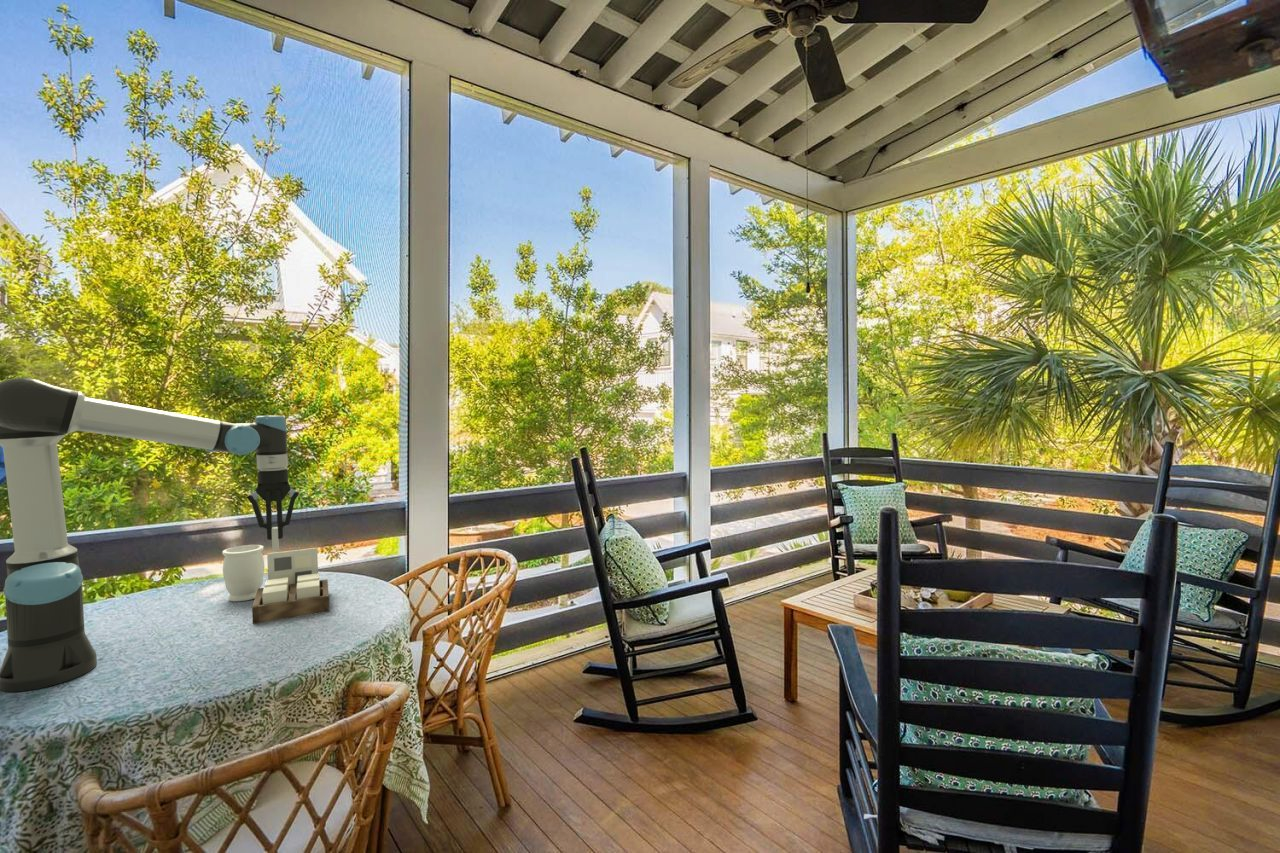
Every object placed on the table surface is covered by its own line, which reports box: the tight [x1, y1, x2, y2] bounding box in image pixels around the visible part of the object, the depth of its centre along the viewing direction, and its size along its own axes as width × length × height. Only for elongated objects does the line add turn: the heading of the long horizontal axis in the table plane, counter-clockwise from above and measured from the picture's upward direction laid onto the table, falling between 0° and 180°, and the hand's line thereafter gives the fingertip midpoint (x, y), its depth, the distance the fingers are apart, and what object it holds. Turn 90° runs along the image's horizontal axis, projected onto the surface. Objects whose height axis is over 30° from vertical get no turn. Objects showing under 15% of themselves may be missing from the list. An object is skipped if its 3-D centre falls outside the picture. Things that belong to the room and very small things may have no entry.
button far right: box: [297, 572, 320, 586], centre depth 172 cm, size 6×6×4 cm
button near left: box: [262, 585, 288, 604], centre depth 161 cm, size 6×6×4 cm
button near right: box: [297, 579, 320, 599], centre depth 165 cm, size 6×6×4 cm
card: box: [266, 547, 319, 584], centre depth 176 cm, size 13×1×14 cm, turn 119°
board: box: [251, 578, 330, 625], centre depth 167 cm, size 18×18×4 cm
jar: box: [222, 544, 265, 602], centre depth 176 cm, size 11×10×15 cm
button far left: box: [263, 577, 289, 592], centre depth 168 cm, size 6×6×4 cm
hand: (275, 550), depth 168 cm, fingers closed
